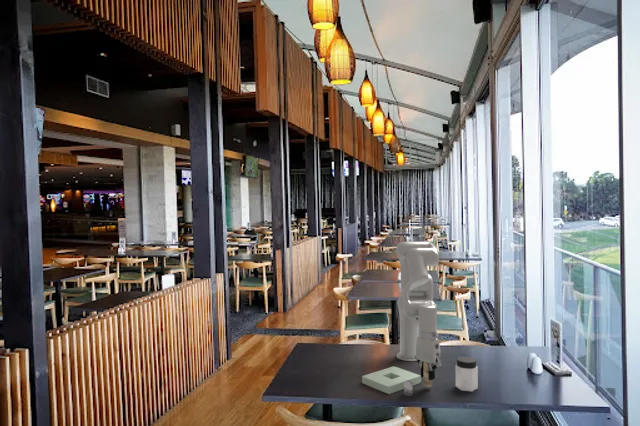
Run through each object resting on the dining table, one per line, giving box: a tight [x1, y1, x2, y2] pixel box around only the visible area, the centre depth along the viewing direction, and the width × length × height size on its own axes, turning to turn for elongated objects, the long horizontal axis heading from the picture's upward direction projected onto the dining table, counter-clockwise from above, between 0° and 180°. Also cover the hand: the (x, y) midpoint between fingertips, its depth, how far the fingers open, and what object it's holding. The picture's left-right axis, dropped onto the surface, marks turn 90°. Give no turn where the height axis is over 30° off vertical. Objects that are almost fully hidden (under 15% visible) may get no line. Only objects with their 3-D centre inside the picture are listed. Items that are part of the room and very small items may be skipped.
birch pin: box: [422, 361, 433, 388], centre depth 201 cm, size 4×4×12 cm
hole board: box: [361, 365, 422, 395], centre depth 209 cm, size 20×16×3 cm
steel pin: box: [403, 381, 414, 397], centre depth 196 cm, size 4×4×5 cm
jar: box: [454, 355, 479, 392], centre depth 202 cm, size 9×8×12 cm
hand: (427, 377), depth 201 cm, fingers closed on birch pin, 3 cm apart
